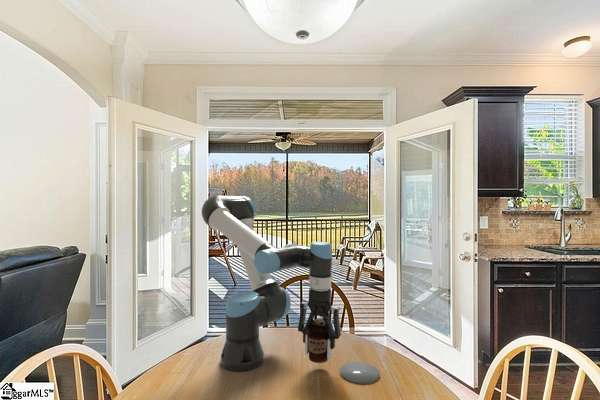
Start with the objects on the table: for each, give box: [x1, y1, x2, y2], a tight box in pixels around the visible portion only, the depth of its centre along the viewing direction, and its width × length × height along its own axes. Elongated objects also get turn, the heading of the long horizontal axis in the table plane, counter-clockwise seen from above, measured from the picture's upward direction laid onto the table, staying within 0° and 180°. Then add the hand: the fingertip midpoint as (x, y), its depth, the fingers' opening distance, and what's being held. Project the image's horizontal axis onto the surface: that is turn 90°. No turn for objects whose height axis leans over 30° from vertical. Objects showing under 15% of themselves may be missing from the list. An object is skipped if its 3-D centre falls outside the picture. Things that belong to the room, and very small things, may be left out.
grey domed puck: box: [339, 361, 380, 385], centre depth 116 cm, size 13×13×1 cm
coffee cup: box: [307, 318, 330, 364], centre depth 119 cm, size 9×8×13 cm
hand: (318, 354), depth 119 cm, fingers closed on coffee cup, 7 cm apart
